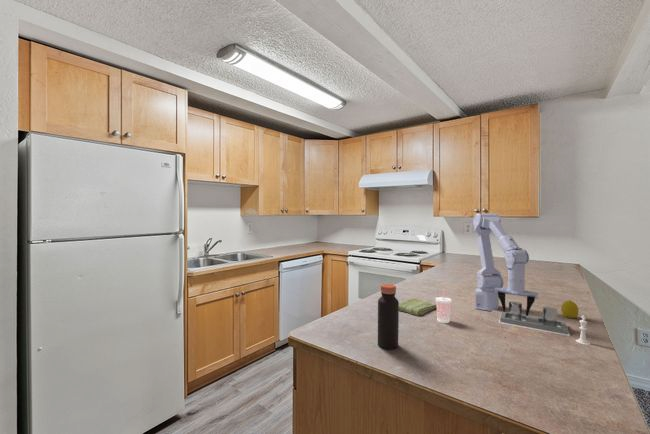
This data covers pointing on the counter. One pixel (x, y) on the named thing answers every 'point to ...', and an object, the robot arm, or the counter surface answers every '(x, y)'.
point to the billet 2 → (550, 316)
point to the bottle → (388, 317)
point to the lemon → (569, 309)
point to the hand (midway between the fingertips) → (515, 313)
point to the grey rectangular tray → (534, 324)
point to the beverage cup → (443, 308)
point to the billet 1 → (515, 310)
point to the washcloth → (416, 306)
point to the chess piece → (583, 331)
